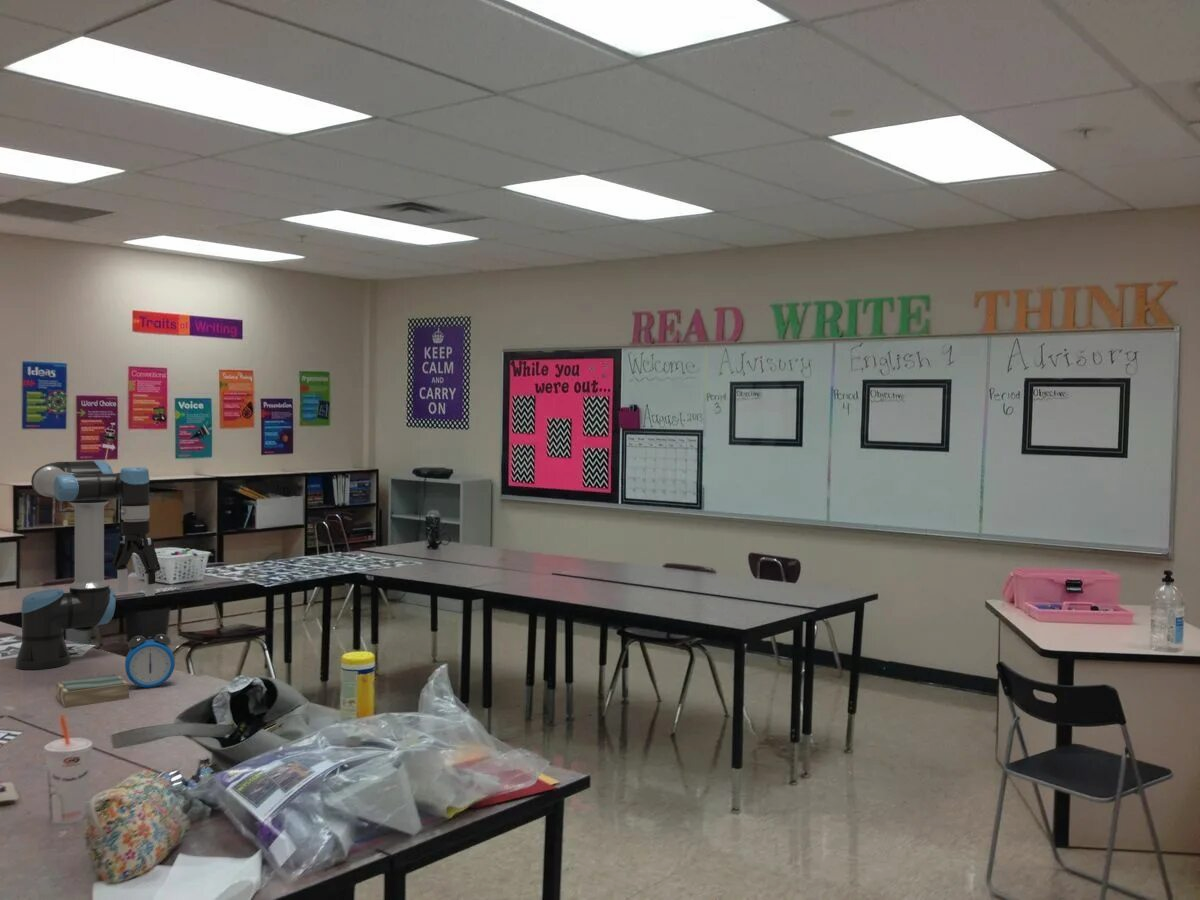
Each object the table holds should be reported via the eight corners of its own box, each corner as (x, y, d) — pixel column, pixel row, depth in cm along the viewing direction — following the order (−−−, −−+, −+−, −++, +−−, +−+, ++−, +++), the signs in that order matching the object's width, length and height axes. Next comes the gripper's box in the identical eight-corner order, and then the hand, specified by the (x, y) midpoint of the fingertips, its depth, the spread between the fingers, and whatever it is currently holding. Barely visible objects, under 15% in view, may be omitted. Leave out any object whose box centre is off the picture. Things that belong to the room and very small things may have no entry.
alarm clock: (125, 691, 293) (125, 639, 293) (125, 686, 299) (124, 635, 299) (174, 686, 299) (174, 635, 299) (173, 681, 305) (173, 631, 304)
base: (56, 696, 287) (56, 681, 287) (118, 687, 297) (118, 673, 296) (65, 707, 276) (65, 691, 276) (129, 698, 285) (128, 682, 285)
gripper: (98, 519, 299) (99, 591, 300) (148, 523, 285) (149, 598, 286) (122, 517, 306) (123, 588, 306) (172, 521, 292) (173, 595, 292)
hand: (136, 593), depth 296 cm, fingers open, 13 cm apart
